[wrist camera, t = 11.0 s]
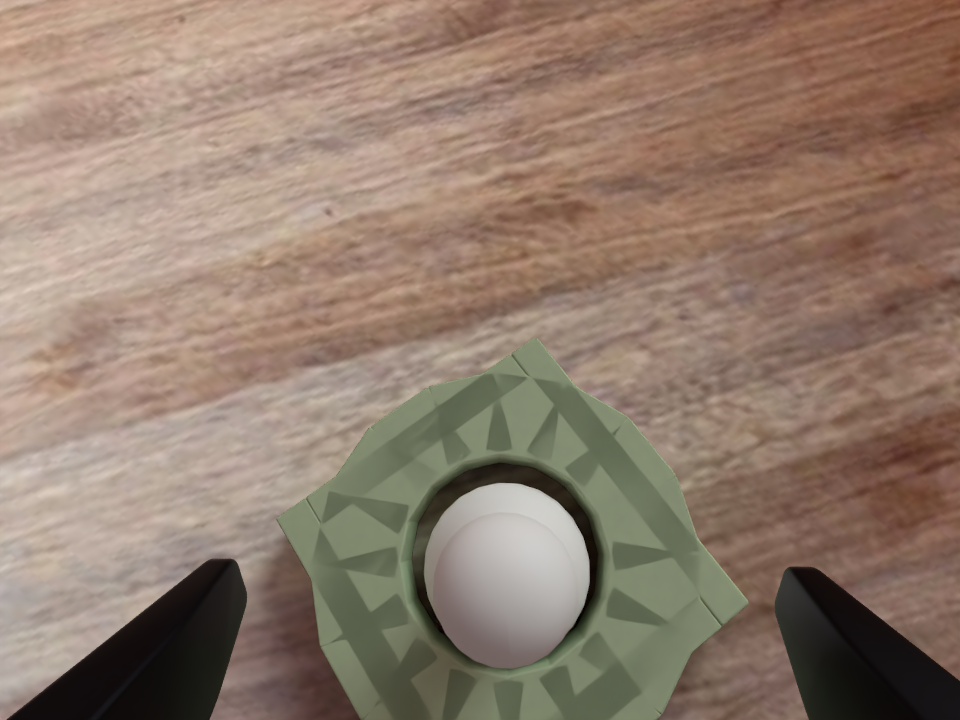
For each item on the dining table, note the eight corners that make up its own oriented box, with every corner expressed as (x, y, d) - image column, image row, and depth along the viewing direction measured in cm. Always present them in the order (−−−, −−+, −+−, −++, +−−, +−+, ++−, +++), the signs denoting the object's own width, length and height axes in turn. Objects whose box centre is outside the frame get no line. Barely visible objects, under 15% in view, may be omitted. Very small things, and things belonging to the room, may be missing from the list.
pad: (461, 849, 16) (455, 892, 14) (270, 514, 19) (244, 513, 17) (757, 601, 18) (787, 610, 16) (537, 328, 21) (540, 308, 19)
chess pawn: (425, 493, 19) (357, 461, 10) (572, 479, 19) (626, 436, 10) (435, 655, 18) (363, 776, 9) (594, 642, 17) (678, 750, 9)
